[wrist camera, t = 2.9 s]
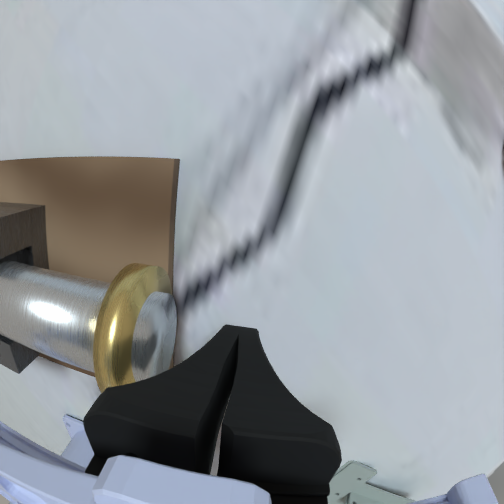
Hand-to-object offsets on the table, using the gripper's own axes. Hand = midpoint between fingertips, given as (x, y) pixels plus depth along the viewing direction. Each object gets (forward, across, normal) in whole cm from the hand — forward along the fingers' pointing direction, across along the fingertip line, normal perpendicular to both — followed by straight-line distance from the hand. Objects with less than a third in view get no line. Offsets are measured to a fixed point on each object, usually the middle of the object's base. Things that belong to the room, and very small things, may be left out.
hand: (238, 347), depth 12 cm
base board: (+4, +17, 0) cm, 17 cm away
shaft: (+2, +11, 0) cm, 11 cm away
